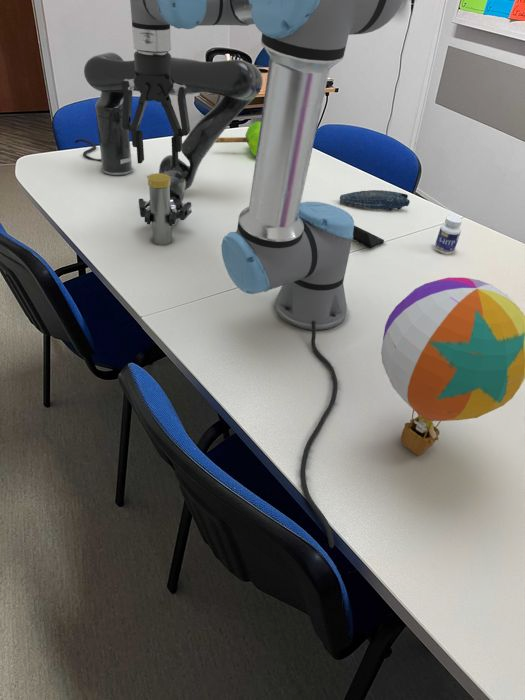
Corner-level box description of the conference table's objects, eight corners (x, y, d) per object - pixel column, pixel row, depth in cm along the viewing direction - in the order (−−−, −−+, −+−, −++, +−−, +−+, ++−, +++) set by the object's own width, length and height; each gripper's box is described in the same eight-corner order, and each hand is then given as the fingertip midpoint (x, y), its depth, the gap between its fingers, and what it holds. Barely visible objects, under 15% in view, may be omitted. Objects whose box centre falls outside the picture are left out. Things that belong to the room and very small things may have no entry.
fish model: (408, 214, 157) (412, 198, 153) (339, 207, 158) (341, 191, 154) (406, 206, 162) (410, 190, 159) (339, 199, 163) (341, 183, 160)
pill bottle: (433, 251, 139) (442, 220, 133) (435, 243, 143) (444, 213, 137) (453, 256, 138) (464, 225, 132) (454, 247, 142) (465, 217, 136)
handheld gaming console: (388, 234, 141) (380, 212, 133) (377, 256, 140) (367, 236, 131) (351, 226, 147) (341, 204, 139) (340, 247, 146) (329, 227, 138)
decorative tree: (211, 117, 187) (292, 117, 193) (212, 147, 194) (290, 146, 199) (217, 132, 174) (304, 131, 179) (217, 163, 180) (301, 162, 186)
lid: (150, 179, 126) (150, 172, 125) (172, 181, 126) (172, 174, 125) (145, 187, 121) (145, 180, 120) (167, 189, 121) (167, 182, 120)
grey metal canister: (155, 235, 135) (151, 174, 125) (173, 237, 135) (171, 176, 125) (150, 243, 131) (146, 181, 121) (169, 245, 131) (166, 184, 121)
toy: (330, 436, 84) (367, 277, 66) (403, 387, 95) (453, 238, 76) (431, 520, 73) (510, 357, 55) (500, 454, 84) (586, 299, 65)
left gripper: (141, 178, 137) (128, 205, 124) (195, 182, 138) (188, 209, 125) (143, 205, 142) (131, 233, 129) (195, 209, 143) (189, 237, 129)
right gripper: (97, 49, 104) (109, 164, 118) (197, 59, 103) (198, 174, 117) (109, 43, 109) (120, 153, 124) (205, 53, 109) (204, 162, 123)
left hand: (159, 221), depth 127 cm, fingers closed on grey metal canister, 4 cm apart
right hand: (158, 163), depth 120 cm, fingers open, 7 cm apart
